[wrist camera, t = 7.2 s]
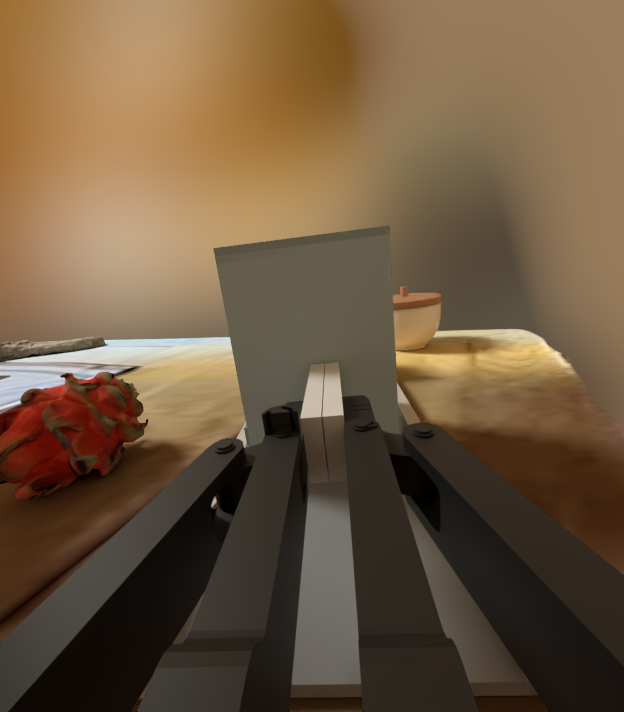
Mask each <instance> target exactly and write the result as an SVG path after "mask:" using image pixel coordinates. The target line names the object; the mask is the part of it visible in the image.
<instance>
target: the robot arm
mask: <svg viewBox="0 0 624 712" xmlns="http://www.w3.org/2000/svg"><path fill="white" fill-rule="evenodd" d="M262 420H263V426H264V432H265V436H264V439H263V441H262V443H260V444H257V445H254V446H250V447H246V448H244V445H243V441H241V440H240V439H236V438H226V439H222V440H220V441H218V442H216V443H214V444H212V445H211V446H209V447H208V448H207V449H206V450H205V451H204V452H203V453H202V454H201V455H200V456H199V457H198V458H196V459H195V460H194V461H193V462H192V463H191V464H190V465H189V466H188V467H187V468H186V469H185V470H184V471H183V472H182V473H180V474H179V475H178V476H177V477H176V478H175V479H174V480H173V481H172V482H171V483H170V484H169V485H168V486H167V487H165V488H164V489H163V490H162V491H161V492H160V493H159V494H158V495H157V496H156V497H155V498H154V499H153V500H152V501H150V502H149V503H148V504H147V505H146V506H145V507H144V508H143V509H142V510H141V511H140V512H139V513H138V514H137V515H135V516H134V517H133V518H132V519H131V520H130V521H129V522H128V523H127V524H126V525H125V526H124V527H123V528H122V529H120V530H119V531H118V532H117V533H116V534H115V535H114V536H113V537H112V538H111V539H110V540H109V541H108V542H107V543H105V544H104V545H103V546H102V547H101V548H100V549H99V550H98V551H97V552H96V553H95V554H94V555H93V556H92V557H90V558H89V559H88V560H87V561H86V562H85V563H84V564H83V565H82V566H81V567H80V568H79V569H78V570H77V571H75V572H74V573H73V574H72V575H71V576H70V577H69V578H68V579H67V580H66V581H65V582H64V583H63V584H62V585H60V586H59V587H58V588H57V589H56V590H55V591H54V592H53V593H52V594H51V595H50V596H49V597H48V598H47V599H45V600H44V601H43V602H42V603H41V604H40V605H39V606H38V607H37V608H36V609H35V610H34V611H33V612H32V613H30V614H29V615H28V616H27V617H26V618H25V619H24V620H23V621H22V622H21V623H20V624H19V625H18V626H17V627H15V628H14V629H13V630H12V631H11V632H10V633H9V634H8V635H7V636H6V637H5V638H4V639H3V640H2V641H0V712H131V710H132V709H133V707H134V705H135V704H136V702H137V701H138V699H139V697H140V696H141V694H142V692H143V691H144V689H145V688H146V686H147V684H148V683H149V681H150V679H151V681H150V683H149V685H148V688H147V690H146V692H145V695H144V697H143V699H142V702H141V704H140V706H139V709H138V711H137V712H289V707H290V696H291V685H292V673H293V662H294V651H295V639H296V628H297V617H298V606H299V594H300V583H301V572H302V560H303V549H304V538H305V526H306V515H307V504H308V493H309V492H308V485H307V475H308V480H309V483H326V482H329V479H330V482H342V481H347V483H348V497H349V511H350V525H351V539H352V552H353V566H354V580H355V594H356V607H357V621H358V636H359V639H358V646H359V662H360V676H361V690H362V704H363V712H479V711H478V708H477V705H476V701H475V698H474V695H473V692H472V689H471V686H470V683H469V680H468V677H467V674H466V671H465V668H464V665H463V663H462V660H461V657H460V655H459V652H458V649H457V647H456V645H455V643H454V641H453V640H452V638H447V637H446V635H445V633H444V630H443V627H442V625H441V621H440V618H439V615H438V612H437V608H436V605H435V602H434V599H433V595H432V592H431V589H430V586H429V582H428V579H427V576H426V573H425V570H424V566H423V563H422V560H421V557H420V553H419V550H418V547H417V544H416V540H415V537H414V534H413V531H412V527H411V524H410V521H409V518H408V514H407V511H406V508H405V505H404V501H403V498H402V495H405V498H406V501H407V503H408V505H409V506H410V507H411V509H412V510H413V512H414V513H415V515H416V516H417V518H418V519H419V521H420V522H421V524H422V525H423V526H424V528H425V529H426V531H427V532H428V534H429V535H430V537H431V538H432V540H433V541H434V543H435V544H436V546H437V547H438V548H439V550H440V551H441V553H442V554H443V556H444V557H445V559H446V560H447V562H448V563H449V565H450V566H451V568H452V569H453V570H454V572H455V573H456V575H457V576H458V578H459V579H460V581H461V582H462V584H463V585H464V587H465V588H466V590H467V591H468V592H469V594H470V595H471V597H472V598H473V600H474V601H475V603H476V604H477V606H478V607H479V609H480V610H481V611H482V613H483V614H484V616H485V617H486V619H487V620H488V622H489V623H490V625H491V626H492V628H493V629H494V631H495V632H496V633H497V635H498V636H499V638H500V639H501V641H502V642H503V644H504V645H505V647H506V648H507V650H508V651H509V653H510V654H511V655H512V657H513V658H514V660H515V661H516V663H517V664H518V666H519V667H520V669H521V670H522V672H523V673H524V674H525V676H526V677H527V679H528V680H529V682H530V683H531V685H532V686H533V688H534V689H535V691H536V692H537V694H538V695H539V696H540V698H541V699H542V701H543V702H544V704H545V705H546V707H547V708H548V710H549V711H550V712H624V575H622V574H621V573H620V572H619V571H618V570H616V569H615V568H614V567H613V566H611V565H610V564H609V563H608V562H606V561H605V560H604V559H603V558H601V557H600V556H599V555H598V554H596V553H595V552H594V551H593V550H591V549H590V548H589V547H588V546H586V545H585V544H584V543H583V542H581V541H580V540H579V539H578V538H576V537H575V536H574V535H573V534H571V533H570V532H569V531H568V530H567V529H565V528H564V527H563V526H562V525H560V524H559V523H558V522H557V521H555V520H554V519H553V518H552V517H550V516H549V515H548V514H547V513H545V512H544V511H543V510H542V509H540V508H539V507H538V506H537V505H535V504H534V503H533V502H532V501H530V500H529V499H528V498H527V497H525V496H524V495H523V494H522V493H520V492H519V491H518V490H517V489H516V488H514V487H513V486H512V485H511V484H509V483H508V482H507V481H506V480H504V479H503V478H502V477H501V476H499V475H498V474H497V473H496V472H494V471H493V470H492V469H491V468H489V467H488V466H487V465H486V464H484V463H483V462H482V461H481V460H479V459H478V458H477V457H476V456H474V455H473V454H472V453H471V452H469V451H468V450H467V449H466V448H465V447H463V446H462V445H461V444H460V443H458V442H457V441H456V440H455V439H453V438H452V437H451V436H450V435H448V434H447V433H446V432H445V431H443V430H442V429H441V428H439V427H437V426H435V425H432V424H429V423H414V424H410V425H407V426H406V427H405V428H403V432H402V435H401V434H393V433H388V432H385V431H383V430H381V427H380V425H379V423H378V422H376V421H375V417H374V414H373V411H372V407H371V404H370V401H369V399H368V398H367V397H365V396H364V395H357V396H345V397H342V391H341V381H340V371H339V362H335V363H325V365H324V364H314V365H311V367H310V372H309V377H308V382H307V387H306V392H305V397H304V401H296V402H287V403H286V404H285V405H281V406H275V407H272V408H269V409H267V410H266V411H264V412H263V413H262ZM401 494H402V495H401ZM215 497H216V501H217V502H216V503H215V504H214V506H213V507H211V506H212V502H213V500H214V498H215ZM203 594H204V595H203ZM202 595H203V598H202V600H201V603H200V605H199V608H198V611H197V613H196V616H195V619H194V621H193V624H192V626H191V629H190V631H189V633H188V636H187V638H186V639H185V640H184V642H183V643H181V644H173V642H174V641H175V639H176V637H177V636H178V634H179V632H180V631H181V629H182V628H183V626H184V624H185V623H186V621H187V619H188V618H189V616H190V615H191V613H192V611H193V610H194V608H195V606H196V605H197V603H198V602H199V600H200V598H201V597H202Z"/></svg>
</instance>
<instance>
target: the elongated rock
mask: <svg viewBox="0 0 624 712" xmlns="http://www.w3.org/2000/svg"><path fill="white" fill-rule="evenodd" d="M104 344H105V342H104V340H103V338H102V337H87V338H78V339H71V340H63V341H57V342H30V341H29V340H24V341H20V342H12V343H11V342H4V343H0V361H4V360H10V359H14V358H22V357H28V356H29V355H32V354H37V355H38V354H42V355H45V354H50V353H54V352H70V351H77V350H81V349H87V348H95V347H99V346H102V345H104Z"/></svg>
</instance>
